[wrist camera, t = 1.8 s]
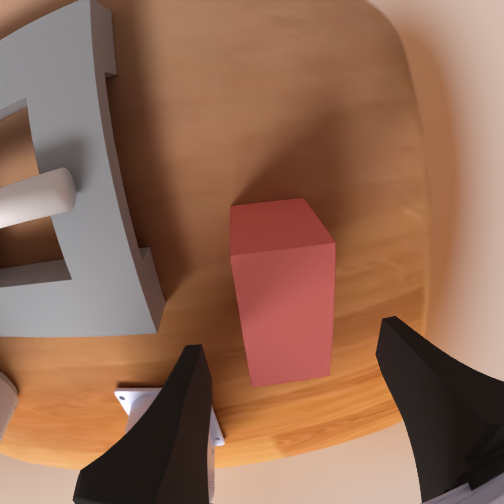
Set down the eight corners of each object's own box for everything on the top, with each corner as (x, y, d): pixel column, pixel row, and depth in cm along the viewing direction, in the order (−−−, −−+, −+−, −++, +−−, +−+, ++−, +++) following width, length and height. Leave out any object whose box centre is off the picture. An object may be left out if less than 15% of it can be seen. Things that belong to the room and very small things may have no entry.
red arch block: (307, 308, 20) (329, 375, 15) (246, 316, 20) (251, 387, 15) (303, 197, 17) (335, 242, 12) (230, 206, 17) (229, 255, 12)
